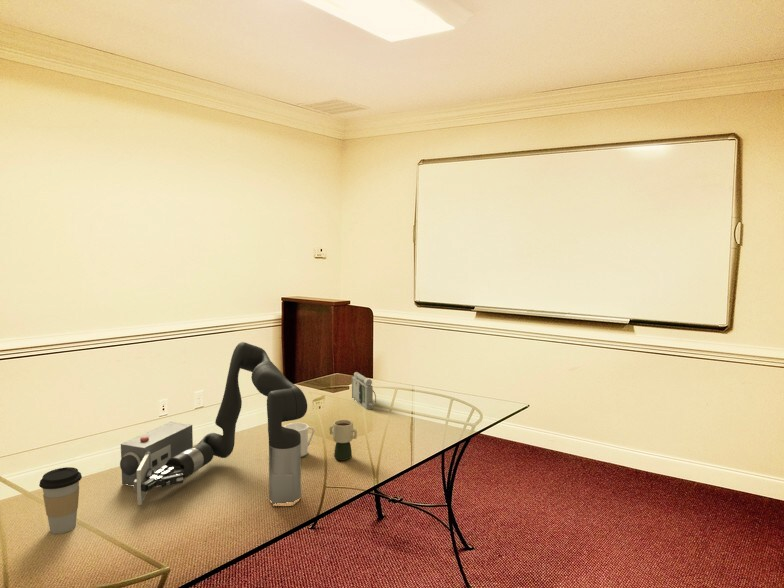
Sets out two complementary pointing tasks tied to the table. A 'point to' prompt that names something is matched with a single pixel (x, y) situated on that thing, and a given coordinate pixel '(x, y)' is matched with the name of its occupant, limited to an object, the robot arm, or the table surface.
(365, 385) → the geiger counter
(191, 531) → the table surface
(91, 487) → the table surface
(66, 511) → the coffee cup
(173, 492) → the table surface
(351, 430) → the character mug
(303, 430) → the mug
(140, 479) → the side door
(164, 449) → the camera body
